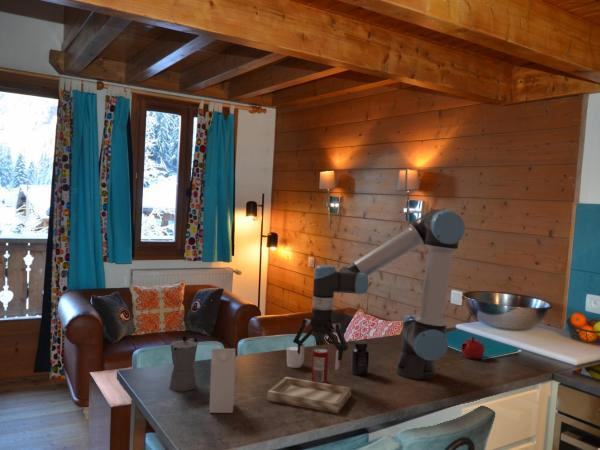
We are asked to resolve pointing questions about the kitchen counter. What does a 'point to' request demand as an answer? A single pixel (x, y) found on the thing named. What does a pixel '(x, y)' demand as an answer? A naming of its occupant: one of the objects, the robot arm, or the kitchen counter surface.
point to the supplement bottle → (360, 359)
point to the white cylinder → (293, 357)
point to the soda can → (320, 365)
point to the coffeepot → (183, 364)
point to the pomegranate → (472, 349)
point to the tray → (310, 394)
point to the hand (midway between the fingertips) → (319, 365)
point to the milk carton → (222, 380)
